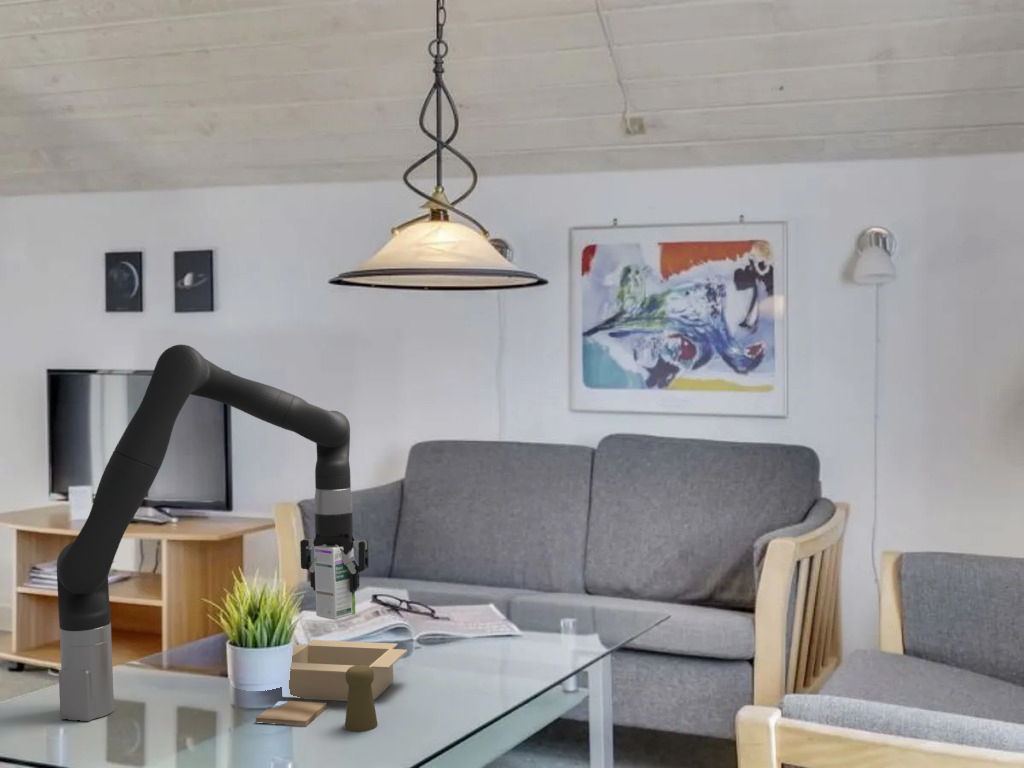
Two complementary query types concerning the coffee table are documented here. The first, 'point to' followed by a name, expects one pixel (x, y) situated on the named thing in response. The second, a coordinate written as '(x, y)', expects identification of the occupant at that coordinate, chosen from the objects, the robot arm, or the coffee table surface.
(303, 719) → the coaster
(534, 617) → the coffee table surface
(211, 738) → the coffee table surface
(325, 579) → the syrup box
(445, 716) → the coffee table surface
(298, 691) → the carton
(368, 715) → the pepper shaker
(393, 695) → the coffee table surface
